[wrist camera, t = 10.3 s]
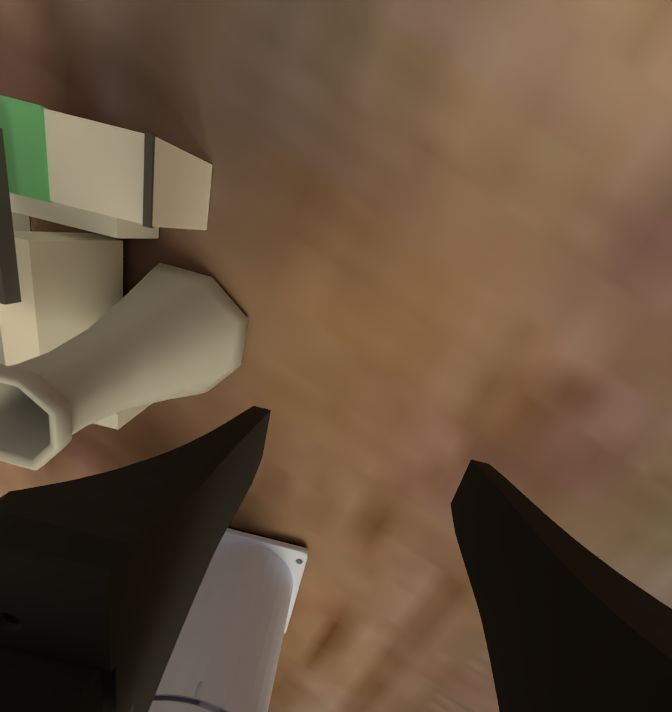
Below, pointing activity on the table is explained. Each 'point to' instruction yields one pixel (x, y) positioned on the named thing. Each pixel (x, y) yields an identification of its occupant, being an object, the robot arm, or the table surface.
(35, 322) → the pad
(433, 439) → the table surface
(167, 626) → the robot arm
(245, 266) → the table surface
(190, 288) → the grey vase
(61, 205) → the gauge frame
